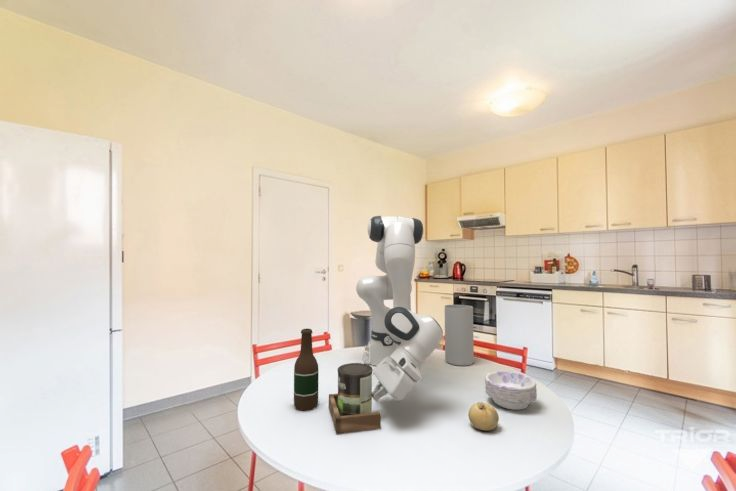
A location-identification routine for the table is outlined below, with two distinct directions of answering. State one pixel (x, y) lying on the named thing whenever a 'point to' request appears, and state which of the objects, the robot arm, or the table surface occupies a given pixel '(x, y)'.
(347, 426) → the caddy
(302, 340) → the beer bottle
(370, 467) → the table surface
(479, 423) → the onion
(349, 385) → the coffee can
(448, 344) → the cylinder vase
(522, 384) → the paper bowls
